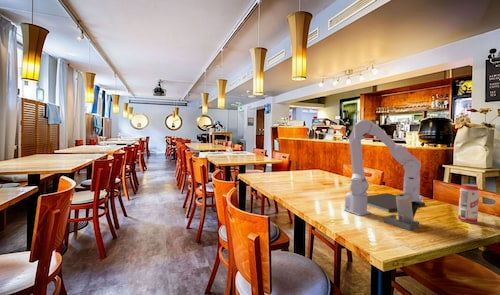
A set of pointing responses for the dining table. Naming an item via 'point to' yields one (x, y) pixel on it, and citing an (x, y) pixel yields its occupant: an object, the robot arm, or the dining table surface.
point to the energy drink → (404, 208)
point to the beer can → (468, 203)
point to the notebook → (385, 202)
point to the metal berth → (400, 223)
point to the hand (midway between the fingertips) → (410, 218)
